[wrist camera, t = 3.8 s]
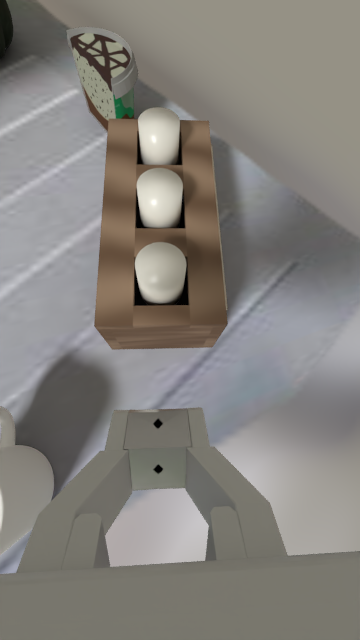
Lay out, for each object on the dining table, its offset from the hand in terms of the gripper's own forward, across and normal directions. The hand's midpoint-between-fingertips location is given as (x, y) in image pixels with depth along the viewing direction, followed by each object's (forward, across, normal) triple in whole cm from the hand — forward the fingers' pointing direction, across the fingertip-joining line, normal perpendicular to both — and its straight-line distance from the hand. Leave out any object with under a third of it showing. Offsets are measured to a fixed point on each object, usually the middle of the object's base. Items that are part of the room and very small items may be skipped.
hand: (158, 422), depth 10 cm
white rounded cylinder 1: (+32, 0, -10) cm, 34 cm away
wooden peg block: (+31, 0, +1) cm, 31 cm away
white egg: (+20, 0, +2) cm, 20 cm away
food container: (+49, +6, -16) cm, 52 cm away
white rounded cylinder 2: (+26, 0, -4) cm, 27 cm away
